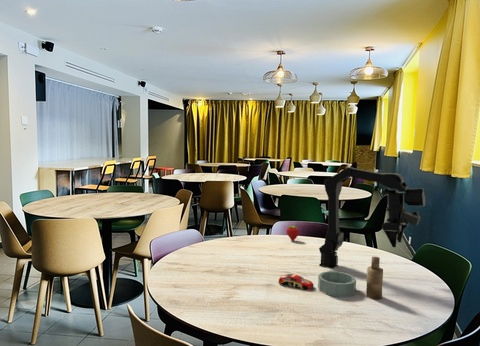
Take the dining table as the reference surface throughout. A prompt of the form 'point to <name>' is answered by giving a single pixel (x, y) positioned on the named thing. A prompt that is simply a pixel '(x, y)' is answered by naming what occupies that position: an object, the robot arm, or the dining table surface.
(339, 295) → the bowl
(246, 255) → the dining table surface
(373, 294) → the walnut bottle
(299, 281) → the race car
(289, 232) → the strawberry
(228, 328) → the dining table surface
